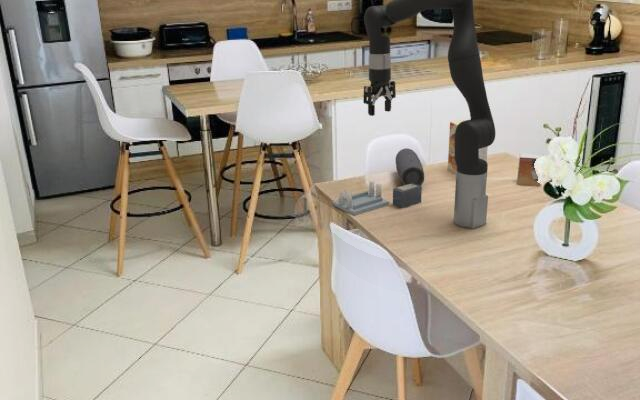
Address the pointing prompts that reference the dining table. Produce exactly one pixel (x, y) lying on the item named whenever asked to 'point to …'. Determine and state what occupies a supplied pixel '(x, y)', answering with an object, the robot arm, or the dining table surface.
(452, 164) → the coffeecake box
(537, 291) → the dining table surface
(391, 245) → the dining table surface
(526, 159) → the small box
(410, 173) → the bluetooth speaker
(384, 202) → the pin tray
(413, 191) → the block
